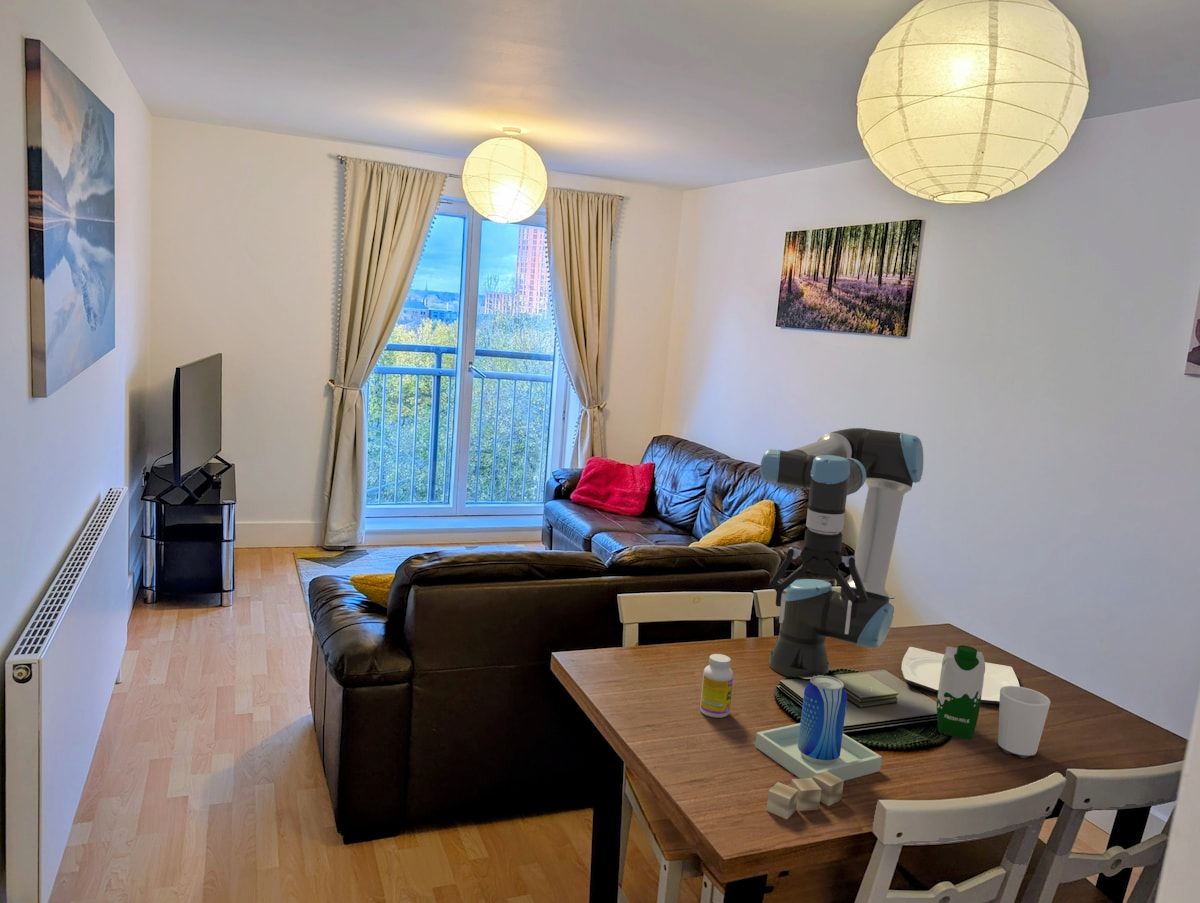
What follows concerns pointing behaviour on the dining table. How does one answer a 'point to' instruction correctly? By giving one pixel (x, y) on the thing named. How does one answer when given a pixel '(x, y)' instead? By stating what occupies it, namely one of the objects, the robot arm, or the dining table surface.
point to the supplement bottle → (717, 687)
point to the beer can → (822, 720)
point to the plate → (926, 674)
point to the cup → (1021, 720)
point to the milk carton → (960, 691)
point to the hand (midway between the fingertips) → (813, 626)
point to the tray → (786, 753)
